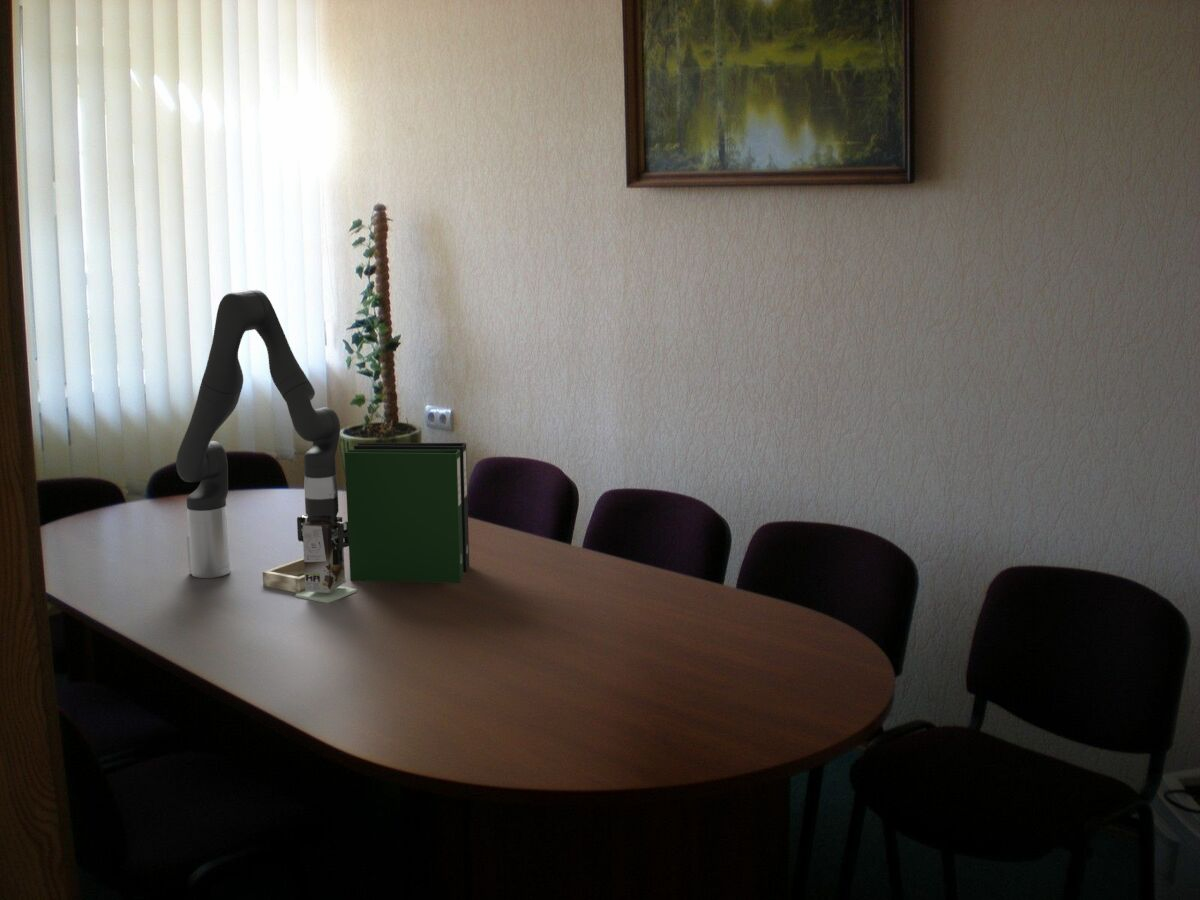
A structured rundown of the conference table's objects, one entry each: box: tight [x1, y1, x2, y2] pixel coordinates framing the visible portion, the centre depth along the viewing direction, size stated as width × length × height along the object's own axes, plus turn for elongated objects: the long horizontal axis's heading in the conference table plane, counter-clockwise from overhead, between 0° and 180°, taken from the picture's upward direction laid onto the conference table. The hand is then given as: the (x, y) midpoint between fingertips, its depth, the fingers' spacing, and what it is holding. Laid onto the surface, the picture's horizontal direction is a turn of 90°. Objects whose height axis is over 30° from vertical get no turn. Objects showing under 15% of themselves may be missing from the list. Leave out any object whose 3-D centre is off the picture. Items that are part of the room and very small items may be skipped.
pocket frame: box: [261, 557, 305, 594], centre depth 289 cm, size 12×15×4 cm
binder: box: [344, 442, 470, 584], centre depth 292 cm, size 27×15×32 cm, turn 87°
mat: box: [295, 585, 358, 604], centre depth 279 cm, size 10×10×1 cm
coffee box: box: [302, 516, 346, 593], centre depth 277 cm, size 9×6×16 cm
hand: (324, 562), depth 278 cm, fingers closed on coffee box, 7 cm apart
